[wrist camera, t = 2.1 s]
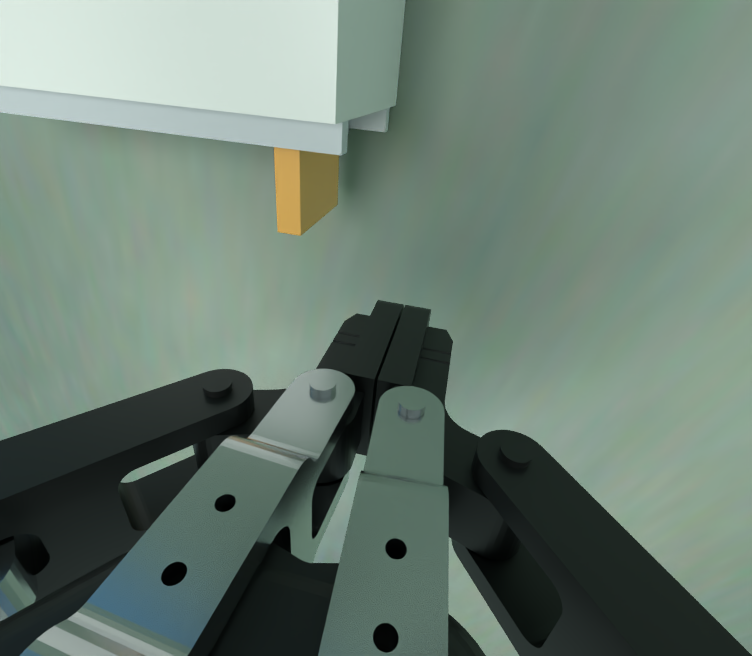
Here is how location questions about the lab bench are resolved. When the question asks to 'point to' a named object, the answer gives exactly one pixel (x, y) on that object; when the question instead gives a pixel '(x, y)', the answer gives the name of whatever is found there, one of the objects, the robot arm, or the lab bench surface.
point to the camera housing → (206, 66)
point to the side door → (304, 188)
